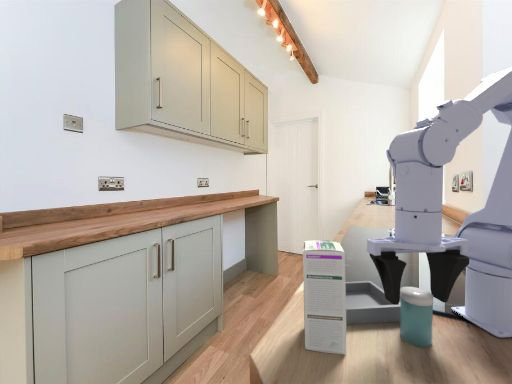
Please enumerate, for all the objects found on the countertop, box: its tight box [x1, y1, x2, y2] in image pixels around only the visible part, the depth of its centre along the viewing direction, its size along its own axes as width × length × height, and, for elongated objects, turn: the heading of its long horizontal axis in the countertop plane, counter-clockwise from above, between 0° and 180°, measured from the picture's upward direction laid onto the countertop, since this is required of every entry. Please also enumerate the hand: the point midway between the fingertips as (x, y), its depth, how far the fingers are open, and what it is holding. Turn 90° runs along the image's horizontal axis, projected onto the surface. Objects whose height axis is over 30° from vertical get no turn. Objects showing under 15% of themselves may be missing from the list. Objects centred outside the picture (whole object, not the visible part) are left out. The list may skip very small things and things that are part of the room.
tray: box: [345, 280, 400, 325], centre depth 44 cm, size 10×10×2 cm
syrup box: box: [302, 239, 347, 356], centre depth 35 cm, size 6×6×14 cm
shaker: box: [399, 286, 434, 348], centre depth 35 cm, size 4×4×7 cm
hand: (415, 300), depth 35 cm, fingers open, 7 cm apart
